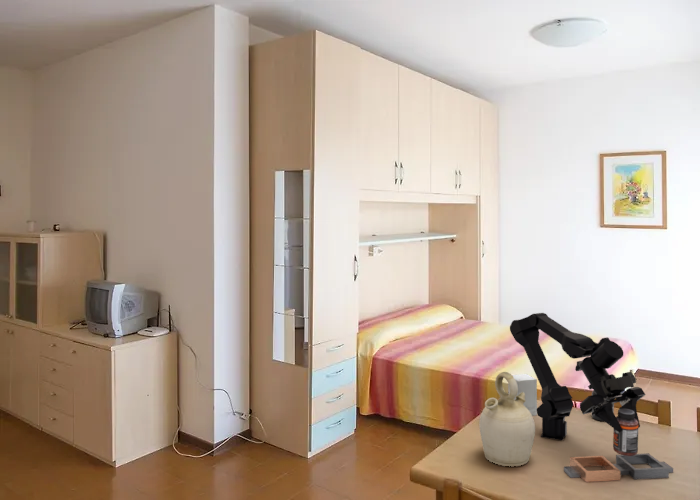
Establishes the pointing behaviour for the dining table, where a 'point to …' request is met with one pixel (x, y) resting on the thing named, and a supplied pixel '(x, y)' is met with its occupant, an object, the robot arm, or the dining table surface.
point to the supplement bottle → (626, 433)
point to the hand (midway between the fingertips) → (629, 429)
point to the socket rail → (617, 468)
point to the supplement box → (527, 391)
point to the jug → (507, 426)
